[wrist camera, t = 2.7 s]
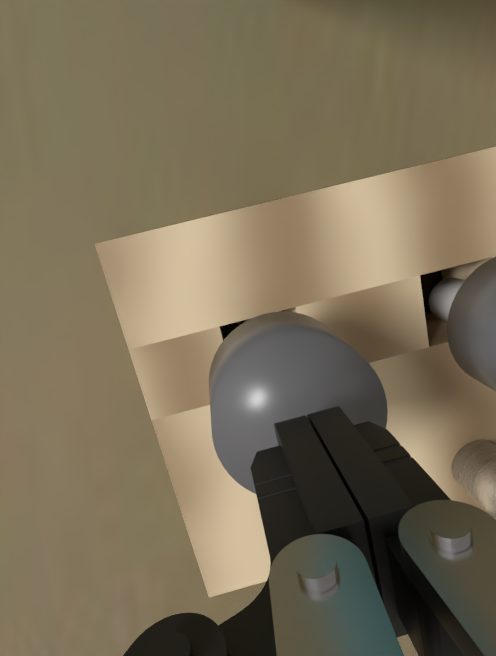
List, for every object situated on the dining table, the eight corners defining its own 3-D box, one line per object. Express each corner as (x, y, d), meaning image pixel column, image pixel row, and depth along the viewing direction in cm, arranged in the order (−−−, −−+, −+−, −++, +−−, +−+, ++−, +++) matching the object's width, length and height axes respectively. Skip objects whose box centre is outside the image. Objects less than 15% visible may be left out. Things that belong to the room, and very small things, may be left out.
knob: (306, 278, 17) (373, 316, 11) (327, 383, 18) (398, 475, 12) (193, 307, 17) (190, 364, 10) (222, 411, 18) (235, 521, 12)
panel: (662, 106, 20) (770, 80, 16) (655, 410, 25) (740, 446, 21) (115, 238, 19) (94, 244, 15) (207, 534, 23) (208, 597, 19)
